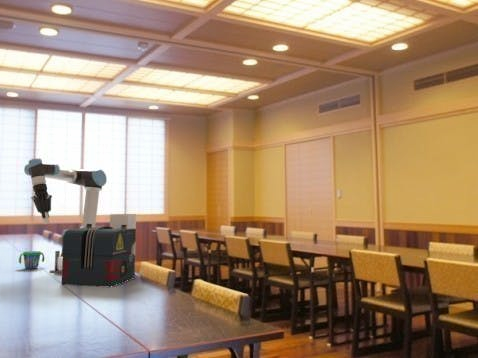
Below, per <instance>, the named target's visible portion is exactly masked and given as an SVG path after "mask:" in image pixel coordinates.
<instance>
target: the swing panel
mask: <svg viewBox="0 0 478 358" xmlns="http://www.w3.org/2000/svg"><path fill="white" fill-rule="evenodd" d="M62 260H63V257H58V267H57V269H59V270H62Z"/></svg>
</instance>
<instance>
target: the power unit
mask: <svg viewBox="0 0 478 358" xmlns="http://www.w3.org/2000/svg"><path fill="white" fill-rule="evenodd" d="M86 226H87V227H86V228H80V227H79V228H70V229H66V230H67V231H66V232H65V234H64V238H63V260H62V272H61V285H64V286H65V285H67V286H85V287H99V286H109V287H108V288H112V287H111V286H113V287H115V286H114V285H116V284H119V283H121V284H123V283H122V282H124V283H126V282H125V281H127V280H130V279H132V278H134V279H135V273H136V272H135V271H136V270H135V269H136V254H135V255H133V254H132V245H133V244H134V243H135V244H136V242H135V239H137V238H136V236H137V235H136V234H137V228H136V229H133V228H132V229H127V228H126V227H127V226H126V225H122V226H121V228H113V227H111V226H110V225H95V227H92V224H87V225H86ZM132 280H133V279H132ZM130 281H131V280H130ZM127 282H128V281H127ZM119 285H120V284H119ZM116 286H117V285H116Z"/></svg>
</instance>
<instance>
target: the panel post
mask: <svg viewBox="0 0 478 358" xmlns="http://www.w3.org/2000/svg"><path fill="white" fill-rule="evenodd" d="M54 252H55V253H54V257H55V258H54V259H55V260H54V269H50V270H49V273H50V274H60V273H61V274H62V270H60V269H57V267H58V257H60V256H61V254H60V250H55V251H54Z"/></svg>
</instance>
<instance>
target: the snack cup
mask: <svg viewBox="0 0 478 358" xmlns="http://www.w3.org/2000/svg"><path fill="white" fill-rule="evenodd" d="M19 255H20V256H19V258H18V262H19V264H22V257H23V262H24V263H23V264H24V268H25V269H27V270H28V269H30V270H31V269H37V268H39V264H40V259H41V258H42V259H41V262H45V254H44V252H42V251H39V250H33V251H32V250H29V251H26V250H25V251H22V253H20V254H19ZM41 255H42V257H41Z"/></svg>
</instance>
